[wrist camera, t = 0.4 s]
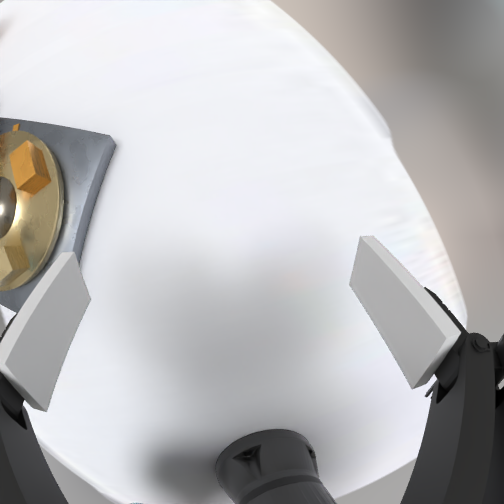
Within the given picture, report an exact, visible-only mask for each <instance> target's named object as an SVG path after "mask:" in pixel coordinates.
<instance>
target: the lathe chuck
mask: <svg viewBox="0 0 504 504" xmlns="http://www.w3.org/2000/svg"><path fill="white" fill-rule="evenodd" d="M63 209H64V185H63V179H62V174H61V170H60V166H59V164H58V161H57V159H56V157H55V155H54V154H53V152H52V151H51V149H50V148H49V147H48V146H47V145H46V144H45V143H44V142H42V141H41V140H40V139H38V138H37V137H36V136H34V135H33V134H31V133H29V132H25V131H10V132H7V133H4V134H1V135H0V291H7V290H11V289H15V288H18V287H20V286H23V285H25V284H26V283H28V282H30V281H31V280H32V279H33V278H34V277H35V276H37V275H38V273H39V272H40V271H41V270H42V269H43V267H44V266H45V264H46V262H47V261H48V259H49V257H50V255H51V253H52V251H53V249H54V246H55V244H56V241H57V238H58V235H59V232H60V227H61V223H62V217H63Z"/></svg>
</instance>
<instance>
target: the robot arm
mask: <svg viewBox="0 0 504 504" xmlns="http://www.w3.org/2000/svg"><path fill="white" fill-rule="evenodd" d="M349 285H350V287H351V288H352V290H353V291H354V293H355V294H356V296H357V298H358V299H359V301H360V302H361V304H362V305H363V307H364V308H365V310H366V312H367V313H368V315H369V316H370V318H371V320H372V321H373V323H374V325H375V326H376V328H377V329H378V331H379V333H380V334H381V336H382V338H383V339H384V341H385V343H386V344H387V346H388V348H389V349H390V351H391V353H392V355H393V356H394V358H395V360H396V362H397V363H398V365H399V367H400V369H401V370H402V372H403V374H404V376H405V377H406V379H407V381H408V383H409V385H410V387H411V388H412V389H414V388H417V387H419V386H422V385H424V384H427V382H428V381H429V380H430V378H431V377H432V376H433V374H435V376H436V377H437V380H436V381H435V383H434V384H433V385H432V386H431V388H430V389H429V390H428V391H427V393H426V395H425V397H428V396H429V395H430V393H431V392H432V391H433V393H432V397H431V404H430V409H429V414H428V419H427V423H426V427H425V432H424V436H423V439H422V443H421V447H420V450H419V454H418V457H417V460H416V463H415V466H414V469H413V472H412V475H411V478H410V481H409V483H408V486H407V489H406V491H405V494H404V496H403V499H402V501H401V503H400V504H504V387H503V388H502V389H499V387H498V384H499V383H500V382H501V381H502V380H503V379H504V335H503V336H502V337H501V339H500V340H499V342H489V341H488V340H487V339H486V338H485V337H484V336H483V335H481V334H479V333H470V334H469V333H468V332H467V331H466V330H465V328H464V327H463V326H462V325H461V323H460V322H459V321H458V320H457V319H456V317H455V316H454V315H453V314H452V313H451V311H450V310H448V308H447V307H446V306H445V304H442V301H441V300H440V299H439V298H438V296H437V295H436V294H435V293H433V292H432V291H430V290H429V289H427V288H426V287H424V288H423V286H422V285H421V284H420V283H419V282H418V281H417V280H416V279H415V278H414V277H413V276H412V274H411V273H410V272H409V271H408V270H407V269H406V268H405V267H404V266H403V265H402V264H401V263H400V262H399V261H398V260H397V259H396V258H395V257H394V256H393V255H392V254H391V253H390V252H389V251H388V250H387V249H386V248H385V247H384V246H383V245H382V244H381V243H380V242H379V241H378V240H377V239H376V238H375V237H374V236H360V239H359V244H358V248H357V253H356V258H355V262H354V267H353V271H352V275H351V279H350V283H349ZM90 300H91V298H90V295H89V293H88V290H87V287H86V285H85V282H84V279H83V276H82V273H81V270H80V267H79V264H78V261H77V258H76V255H75V252H62V253H61V254H60V256H59V257H58V258H57V259H56V261H55V262H54V263H53V264H52V266H51V267H50V268H49V270H48V271H47V272H46V274H45V275H44V276H43V278H42V279H41V280H40V282H39V283H38V284H37V286H36V287H35V289H34V290H33V291H32V293H31V294H30V296H29V297H28V299H27V300H26V302H25V303H24V305H23V306H22V308H21V309H20V311H19V312H18V313H17V314H16V315H15V316H14V317H13V318H12V319H11V320H10V322H9V323H8V325H7V327H6V330H4V332H3V333H2V337H0V504H68V502H67V500H66V498H65V497H64V495H63V493H62V492H61V490H60V488H59V486H58V484H57V482H56V481H55V478H54V477H53V475H52V473H51V471H50V468H49V466H48V464H47V462H46V460H45V458H44V456H43V453H42V451H41V448H40V446H39V444H38V441H37V438H36V436H35V433H34V431H33V428H32V425H31V422H30V419H29V416H28V413H27V411H26V409H25V407H24V406H23V402H24V400H25V401H26V402H27V403H28V404H29V405H30V406H31V407H32V408H34V409H38V410H41V411H45V412H47V410H48V407H49V404H50V400H51V397H52V394H53V391H54V388H55V385H56V382H57V379H58V376H59V374H60V371H61V368H62V365H63V363H64V360H65V358H66V355H67V352H68V350H69V348H70V345H71V343H72V340H73V338H74V336H75V333H76V331H77V329H78V326H79V324H80V322H81V320H82V317H83V315H84V313H85V311H86V309H87V307H88V305H89V303H90ZM216 473H217V478H218V481H219V483H220V485H221V487H222V488H223V489H224V491H225V492H226V493H227V494H228V496H229V497H230V498H231V499H232V500H233V502H234V503H235V504H337V503H336V502H335V500H334V499H333V498H332V496H331V495H330V494H329V492H328V491H327V489H326V488H325V487H324V485H323V484H322V482H321V481H320V479H319V475H318V469H317V462H316V456H315V452H314V450H313V448H312V446H311V445H310V444H309V442H308V441H307V439H306V438H305V437H303V436H302V435H300V434H298V433H296V432H293V431H289V430H267V431H261V432H257V433H254V434H251V435H248V436H246V437H243V438H241V439H239V440H237V441H236V442H234V443H232V444H231V445H230V446H228V447H227V448H226V449H225V450H224V451H223V452H222V453H221V455H220V456H219V458H218V460H217V463H216ZM130 504H141V503H130Z"/></svg>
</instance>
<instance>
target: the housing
mask: <svg viewBox="0 0 504 504" xmlns="http://www.w3.org/2000/svg"><path fill="white" fill-rule="evenodd" d="M10 131H25V132H29V133H31V134H33V135H34V136H36V137H37V138H38V139H40V140H41V141H42V142H44V143H45V144H46V145H47V146H48V147H49V148H50V149H51V151H52V152H53V154H54V155H55V157H56V159H57V161H58V164H59V166H60V170H61V174H62V179H63V185H64V209H63V217H62V223H61V227H60V232H59V235H58V238H57V241H56V244H55V246H54V249H53V251H52V253H51V255H50V257H49V259H48V261H47V262H46V264H45V266H44V267H43V269H42V270H41V271H40V272H39V273H38V275H37V276H35V277H34V278H33V279H32V280H31V281H30V282H28V283H26V284H25V285H23V286H20V287H18V288H15V289H11V290H7V291H0V304H1V305H3V306H5V307H7V308H8V309H10V310H12V311H14V312H16V313H18V312H19V311H20V309H21V308H22V306H23V305H24V303H25V302H26V300H27V299H28V297H29V296H30V294H31V293H32V291H33V290H34V289H35V287H36V286H37V284H38V283H39V282H40V280H41V279H42V278H43V276H44V275H45V274H46V272H47V271H48V270H49V268H50V267H51V266H52V264H53V263H54V262H55V261H56V259H57V258H58V257H59V256H60V254H61V253H62V252H75V255H76V258H77V261H78V264H79V262H80V258H81V253H82V249H83V245H84V241H85V237H86V233H87V229H88V225H89V222H90V218H91V215H92V211H93V208H94V205H95V202H96V199H97V195H98V192H99V189H100V186H101V184H102V181H103V178H104V175H105V172H106V170H107V167H108V164H109V162H110V159H111V157H112V154H113V152H114V149H115V147H116V144H115V142H114V141H113V139H112V138H111V136H110V135H105V134H101V133H96V132H91V131H86V130H81V129H76V128H70V127H65V126H59V125H53V124H47V123H40V122H33V121H26V120H18V119H10V118H0V135H1V134H4V133H7V132H10Z"/></svg>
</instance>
